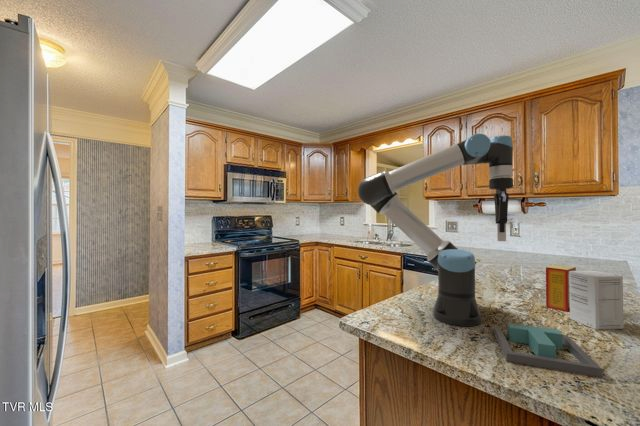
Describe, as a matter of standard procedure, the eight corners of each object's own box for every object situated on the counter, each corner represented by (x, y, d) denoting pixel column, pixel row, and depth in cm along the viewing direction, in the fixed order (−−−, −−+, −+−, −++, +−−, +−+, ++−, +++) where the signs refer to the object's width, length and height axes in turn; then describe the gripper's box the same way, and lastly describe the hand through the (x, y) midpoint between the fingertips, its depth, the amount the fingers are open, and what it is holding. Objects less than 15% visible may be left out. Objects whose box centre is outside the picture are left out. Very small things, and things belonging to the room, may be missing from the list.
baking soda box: (555, 302, 114) (554, 263, 114) (576, 307, 109) (575, 266, 109) (546, 307, 109) (545, 266, 109) (567, 312, 103) (567, 269, 103)
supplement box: (595, 318, 97) (594, 270, 97) (625, 329, 88) (624, 275, 88) (568, 318, 97) (568, 270, 97) (595, 329, 88) (595, 276, 88)
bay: (506, 361, 69) (506, 353, 69) (493, 332, 86) (493, 325, 86) (602, 377, 62) (602, 368, 62) (567, 342, 79) (567, 335, 79)
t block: (518, 356, 72) (518, 340, 72) (507, 336, 83) (507, 323, 83) (577, 365, 67) (577, 349, 67) (557, 343, 79) (557, 329, 79)
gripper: (517, 175, 97) (517, 243, 97) (508, 179, 109) (509, 239, 109) (492, 176, 100) (492, 242, 100) (486, 180, 112) (487, 239, 112)
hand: (501, 240), depth 105 cm, fingers closed
